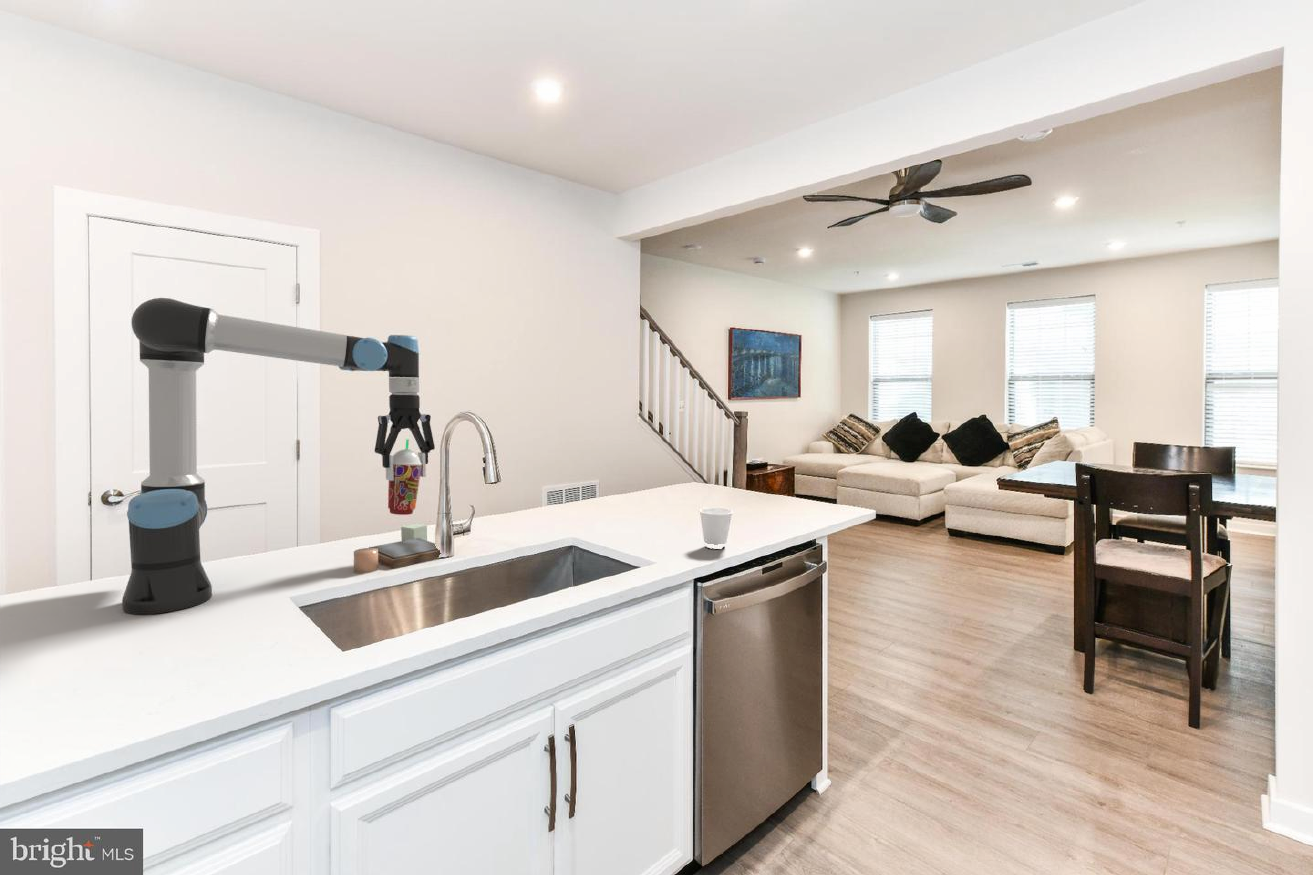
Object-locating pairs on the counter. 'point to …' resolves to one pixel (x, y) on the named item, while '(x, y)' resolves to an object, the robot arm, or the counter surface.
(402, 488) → the smoothie
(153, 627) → the counter surface
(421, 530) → the sage box
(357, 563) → the rounded peach cube
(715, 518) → the cup
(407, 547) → the podium
